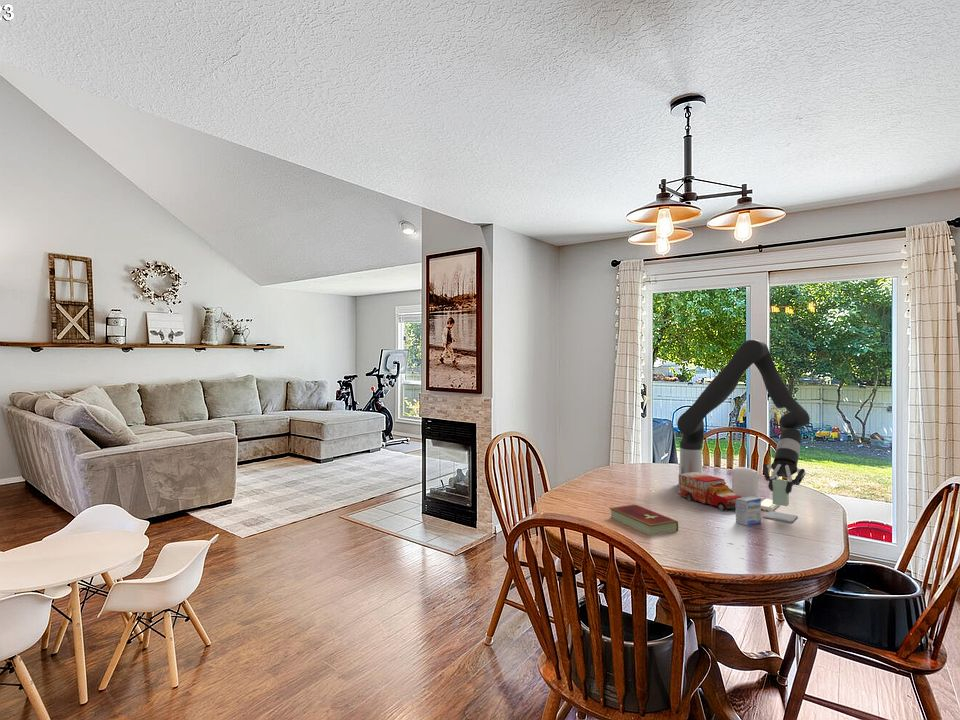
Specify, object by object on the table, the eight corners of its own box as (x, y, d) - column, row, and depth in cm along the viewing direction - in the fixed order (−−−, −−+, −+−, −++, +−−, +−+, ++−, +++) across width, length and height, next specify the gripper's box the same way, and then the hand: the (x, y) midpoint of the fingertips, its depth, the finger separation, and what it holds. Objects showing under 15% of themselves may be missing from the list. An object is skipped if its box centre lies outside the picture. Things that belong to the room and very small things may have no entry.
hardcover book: (635, 514, 186) (635, 503, 186) (678, 532, 167) (678, 519, 167) (609, 518, 181) (609, 507, 181) (650, 537, 162) (650, 524, 162)
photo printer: (730, 495, 211) (730, 466, 211) (734, 493, 214) (734, 465, 214) (755, 500, 203) (755, 470, 203) (760, 498, 206) (760, 469, 206)
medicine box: (747, 526, 171) (747, 501, 171) (735, 522, 175) (735, 498, 175) (761, 523, 175) (761, 498, 175) (749, 519, 179) (749, 495, 179)
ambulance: (725, 513, 187) (725, 486, 187) (676, 496, 209) (676, 473, 209) (746, 510, 191) (746, 484, 191) (696, 494, 214) (696, 471, 214)
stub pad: (763, 517, 181) (763, 516, 181) (770, 512, 187) (770, 510, 187) (791, 523, 175) (791, 521, 175) (797, 517, 181) (797, 515, 181)
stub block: (772, 503, 181) (772, 480, 181) (774, 502, 184) (774, 479, 184) (786, 506, 178) (786, 482, 178) (788, 504, 180) (788, 481, 180)
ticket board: (757, 508, 192) (757, 504, 192) (765, 502, 200) (765, 498, 200) (771, 511, 188) (771, 507, 188) (780, 504, 197) (780, 500, 197)
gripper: (764, 445, 191) (755, 482, 183) (807, 449, 181) (800, 488, 173) (768, 456, 195) (759, 493, 186) (811, 461, 185) (804, 500, 176)
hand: (779, 491), depth 180 cm, fingers closed on stub block, 4 cm apart
